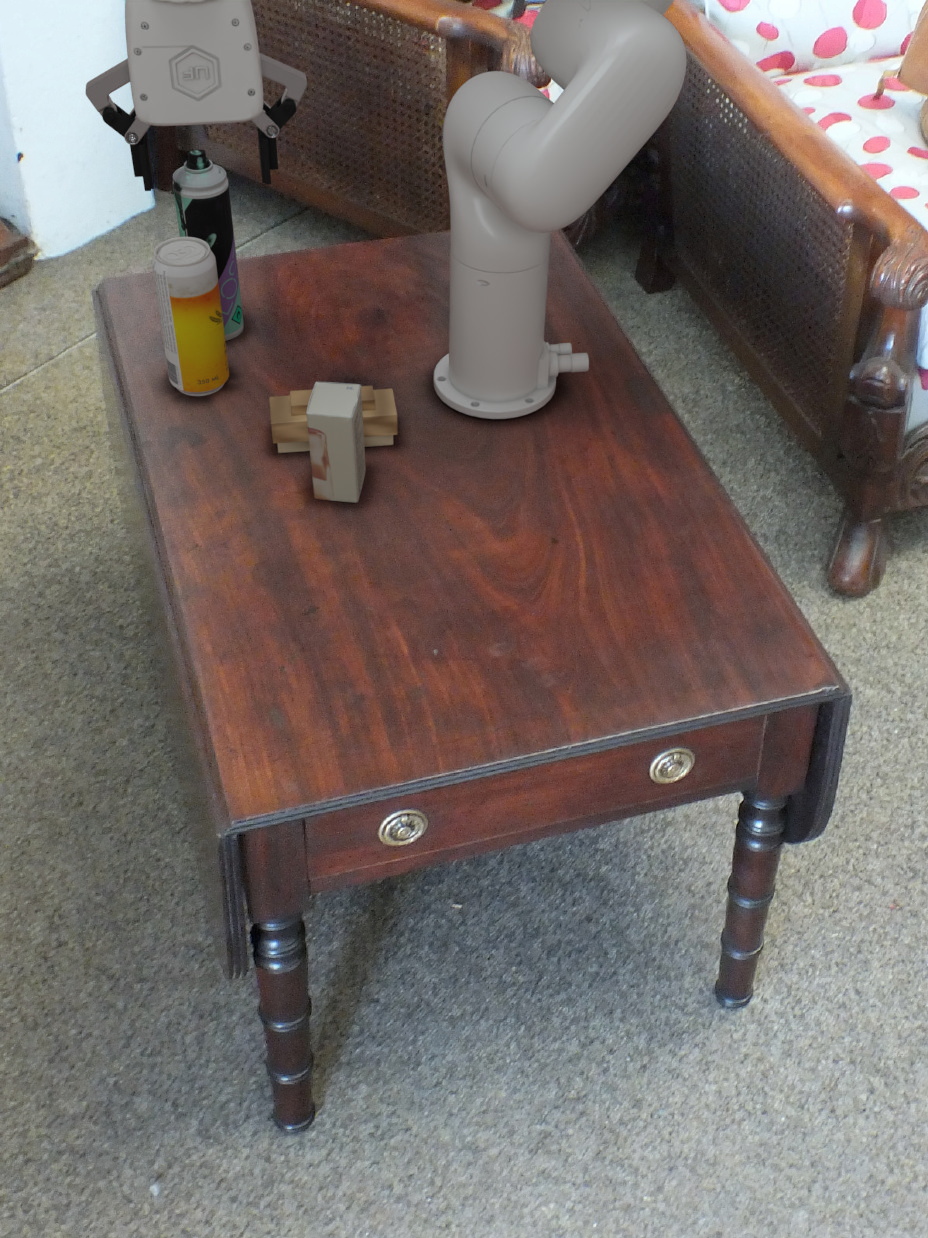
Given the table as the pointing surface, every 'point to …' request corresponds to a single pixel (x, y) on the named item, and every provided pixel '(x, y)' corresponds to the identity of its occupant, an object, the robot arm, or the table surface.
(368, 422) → the tan rectangular block
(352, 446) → the white box
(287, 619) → the table surface
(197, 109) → the robot arm
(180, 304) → the beer can
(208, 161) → the spray can
